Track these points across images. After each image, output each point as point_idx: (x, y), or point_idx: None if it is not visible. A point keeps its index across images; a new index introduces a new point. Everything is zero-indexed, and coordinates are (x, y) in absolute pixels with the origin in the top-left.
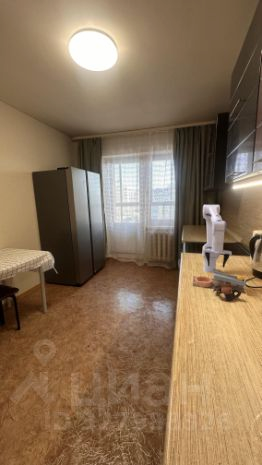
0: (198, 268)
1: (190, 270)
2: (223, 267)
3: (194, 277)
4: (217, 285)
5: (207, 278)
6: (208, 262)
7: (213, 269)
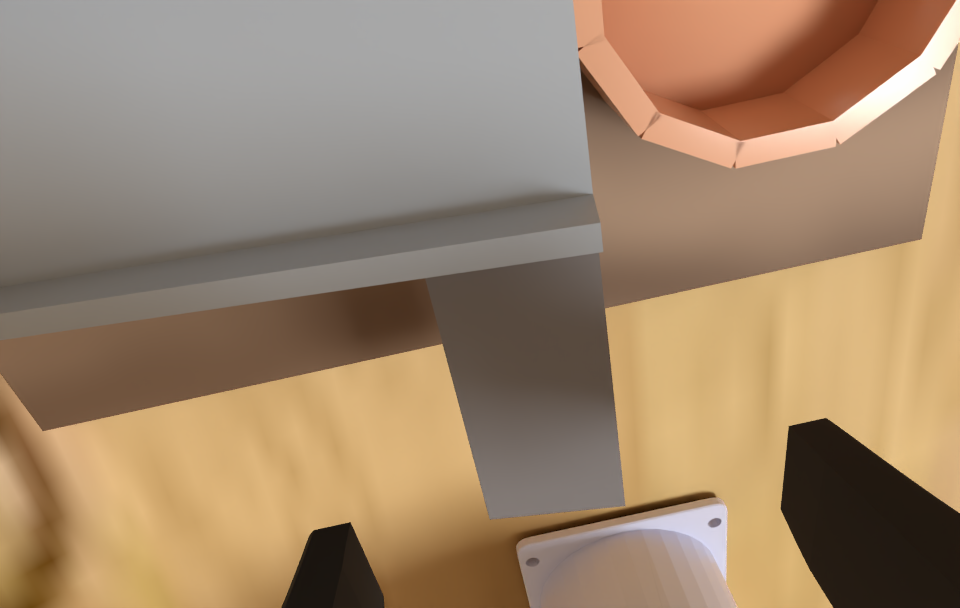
0: (785, 589)
1: (917, 477)
2: (332, 528)
3: (913, 185)
4: None
5: (681, 115)
6: (931, 510)
7: (607, 443)
